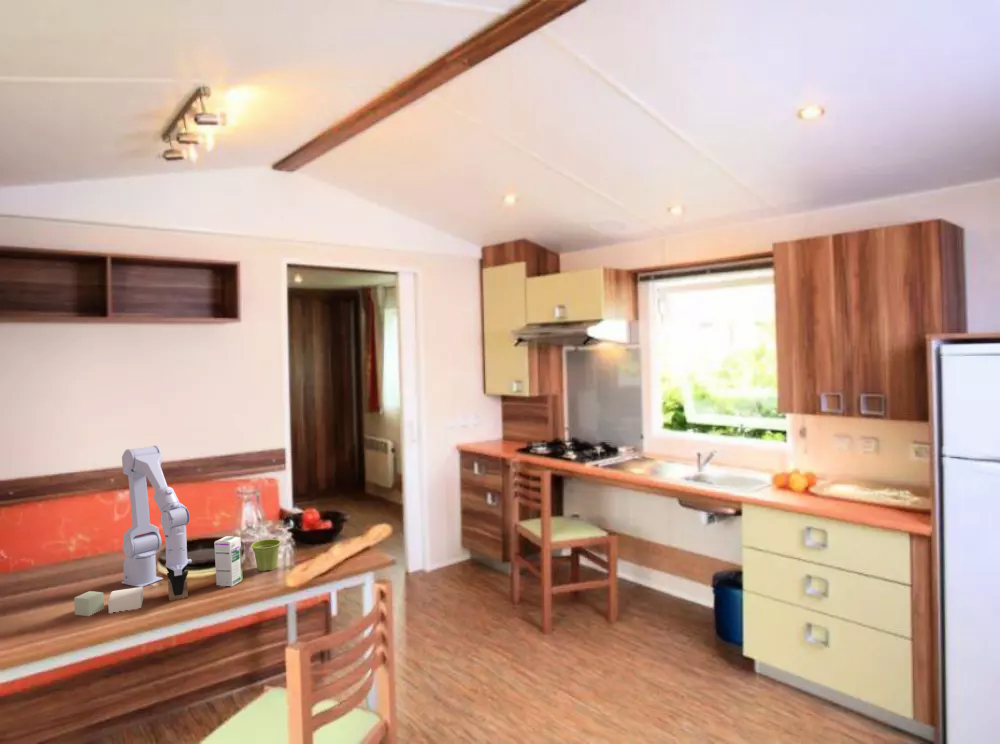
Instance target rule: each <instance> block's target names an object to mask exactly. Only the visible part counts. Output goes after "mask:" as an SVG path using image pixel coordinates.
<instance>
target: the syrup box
mask: <svg viewBox="0 0 1000 744" xmlns="http://www.w3.org/2000/svg"><path fill="white" fill-rule="evenodd" d="M214 560H215V561H214V563H215V579H216V580H215V581H216V582H215V583H216V586H217V585H220V586H219V587H225V586H230V588H233V587H234V586H235V585H237V584H238V583H240V582H243V580H244V579H243V576H244V575H243V558H242V540H241V536H237V535H228V536H227V535H226V536H224V537H222V538H220V539H218V540H215V541H214Z"/></svg>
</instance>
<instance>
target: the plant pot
mask: <svg viewBox="0 0 1000 744" xmlns="http://www.w3.org/2000/svg"><path fill="white" fill-rule="evenodd" d="M281 544H282V541H281V540H280V539H274V538H272V539H271V538H270V539H269V538H268V539H262V540H258V541H255V542H253V543H252V544H251V545H250V546H251V548H252V550H253V552H254V553H253V554H254V558H255V562H256V568H257V570H258V571H259V572H266V571H273V570H275V569H277V566H278V556H279V548H280V545H281Z"/></svg>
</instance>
